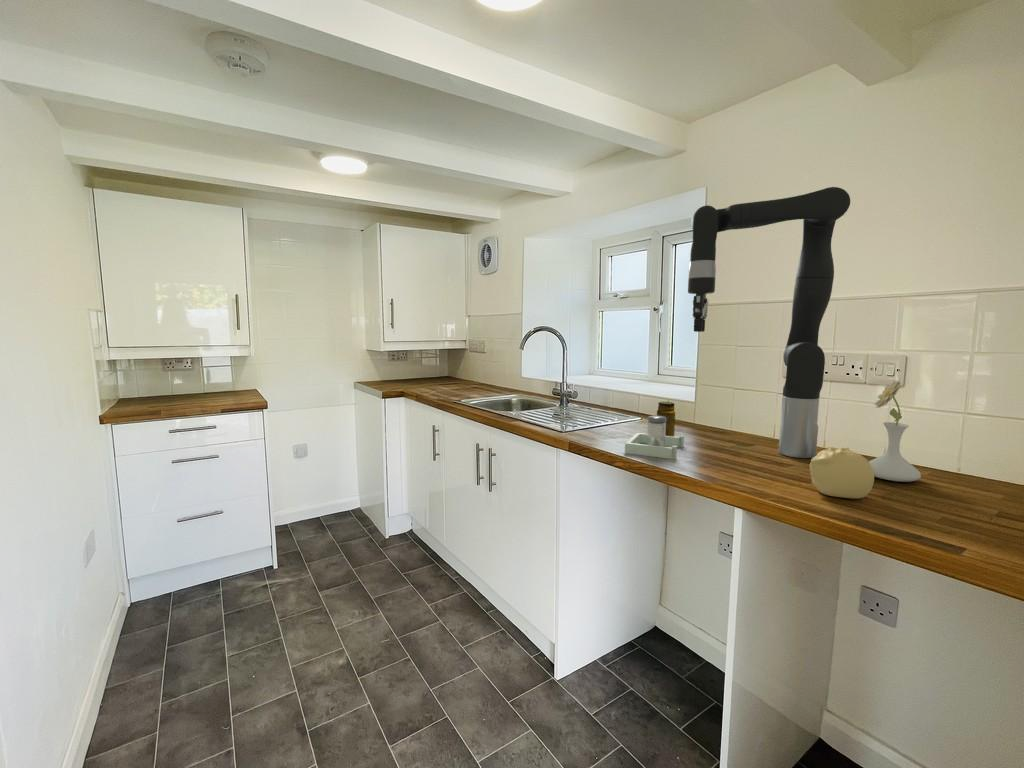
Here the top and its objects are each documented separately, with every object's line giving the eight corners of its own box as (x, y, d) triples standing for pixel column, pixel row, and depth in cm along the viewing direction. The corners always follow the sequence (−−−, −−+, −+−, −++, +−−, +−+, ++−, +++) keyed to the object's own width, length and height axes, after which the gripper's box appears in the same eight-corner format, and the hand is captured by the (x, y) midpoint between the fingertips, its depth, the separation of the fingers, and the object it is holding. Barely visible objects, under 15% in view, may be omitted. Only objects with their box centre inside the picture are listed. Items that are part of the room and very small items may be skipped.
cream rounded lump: (816, 482, 115) (820, 439, 114) (877, 495, 106) (882, 448, 105) (800, 493, 108) (803, 447, 106) (864, 508, 99) (869, 457, 97)
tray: (683, 446, 149) (684, 435, 149) (675, 459, 135) (676, 446, 135) (636, 441, 156) (637, 431, 155) (624, 453, 142) (625, 441, 141)
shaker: (666, 449, 147) (667, 416, 145) (663, 453, 142) (664, 419, 140) (648, 447, 149) (649, 415, 148) (645, 451, 144) (646, 418, 143)
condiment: (679, 437, 163) (680, 402, 162) (667, 441, 157) (668, 405, 156) (659, 433, 168) (661, 400, 167) (647, 437, 162) (648, 402, 161)
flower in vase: (868, 468, 126) (876, 375, 123) (924, 478, 118) (934, 379, 115) (855, 479, 118) (864, 379, 115) (915, 490, 109) (926, 383, 106)
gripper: (713, 274, 134) (710, 331, 136) (717, 278, 146) (714, 331, 148) (685, 275, 137) (682, 331, 139) (691, 279, 150) (689, 331, 152)
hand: (699, 331), depth 144 cm, fingers open, 8 cm apart
